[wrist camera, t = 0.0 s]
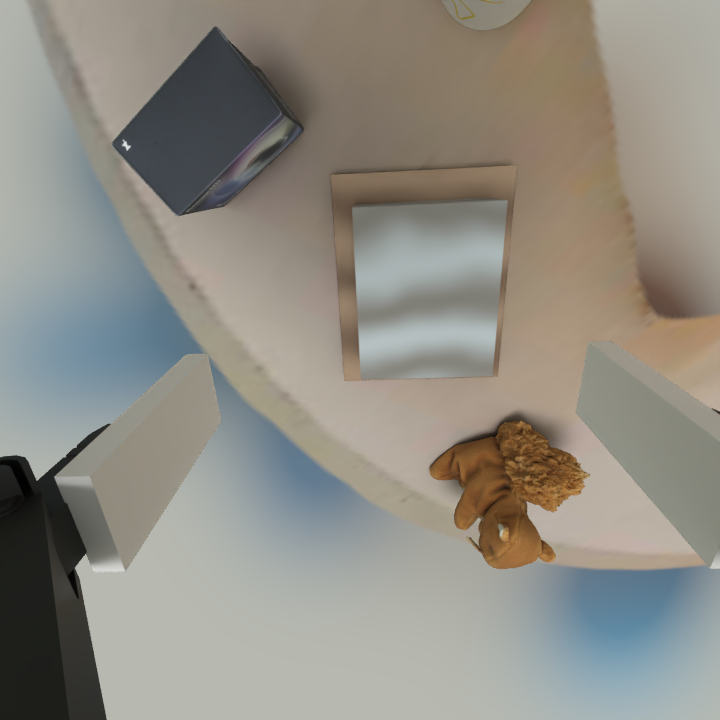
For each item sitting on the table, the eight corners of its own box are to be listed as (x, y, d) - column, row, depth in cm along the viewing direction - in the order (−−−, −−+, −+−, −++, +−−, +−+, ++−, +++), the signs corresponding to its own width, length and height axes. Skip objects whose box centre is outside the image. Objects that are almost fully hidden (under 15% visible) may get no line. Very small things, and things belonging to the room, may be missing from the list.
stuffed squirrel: (422, 470, 50) (437, 562, 38) (507, 389, 46) (555, 464, 34) (482, 511, 53) (514, 609, 41) (569, 437, 48) (635, 524, 36)
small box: (225, 212, 39) (176, 223, 30) (173, 152, 38) (103, 143, 28) (308, 132, 37) (285, 115, 27) (256, 63, 35) (211, 18, 25)
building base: (332, 175, 38) (324, 174, 32) (511, 165, 37) (538, 163, 31) (345, 374, 46) (341, 404, 40) (493, 370, 45) (512, 399, 39)
